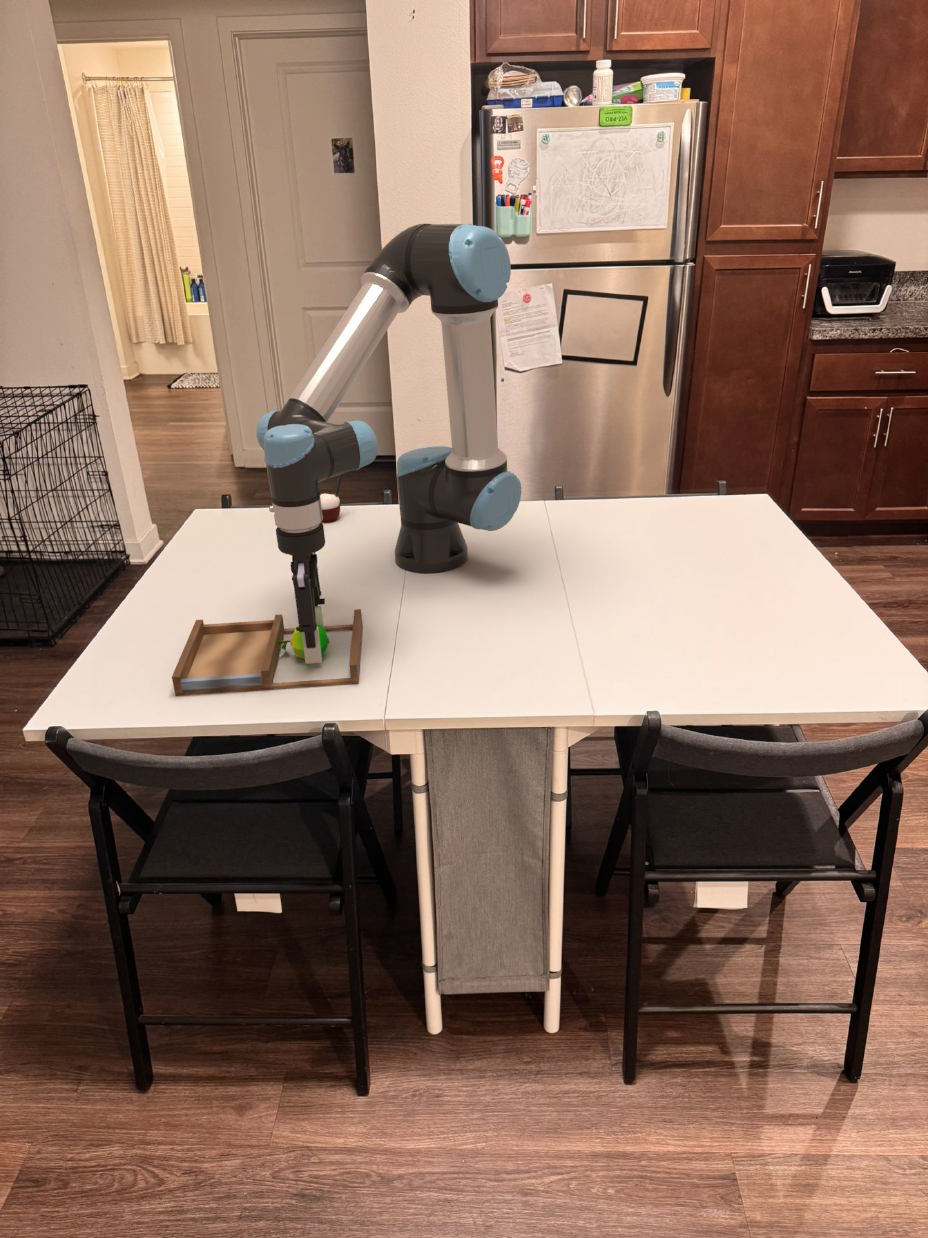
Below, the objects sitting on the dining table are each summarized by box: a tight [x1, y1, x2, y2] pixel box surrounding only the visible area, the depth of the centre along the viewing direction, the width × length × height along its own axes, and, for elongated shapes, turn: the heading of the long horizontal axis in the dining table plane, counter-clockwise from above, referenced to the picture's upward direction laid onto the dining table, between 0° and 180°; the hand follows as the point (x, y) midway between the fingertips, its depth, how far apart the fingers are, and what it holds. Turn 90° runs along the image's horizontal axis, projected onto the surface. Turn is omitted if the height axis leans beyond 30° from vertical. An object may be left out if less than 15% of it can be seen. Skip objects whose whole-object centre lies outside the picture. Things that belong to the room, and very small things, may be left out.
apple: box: [276, 625, 330, 660], centre depth 157 cm, size 7×6×9 cm
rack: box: [171, 608, 364, 697], centre depth 157 cm, size 29×20×4 cm
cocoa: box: [320, 474, 344, 523], centre depth 214 cm, size 10×6×12 cm, turn 91°
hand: (315, 651), depth 157 cm, fingers closed on apple, 7 cm apart
